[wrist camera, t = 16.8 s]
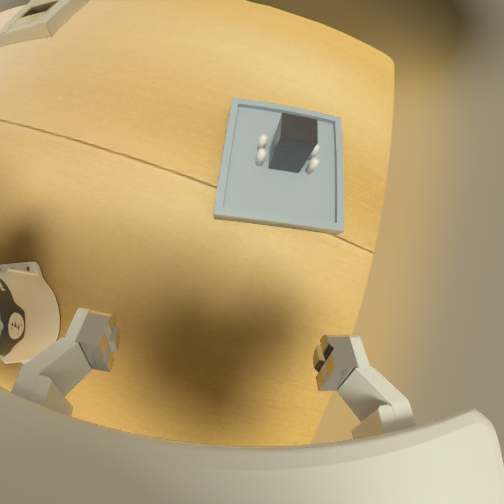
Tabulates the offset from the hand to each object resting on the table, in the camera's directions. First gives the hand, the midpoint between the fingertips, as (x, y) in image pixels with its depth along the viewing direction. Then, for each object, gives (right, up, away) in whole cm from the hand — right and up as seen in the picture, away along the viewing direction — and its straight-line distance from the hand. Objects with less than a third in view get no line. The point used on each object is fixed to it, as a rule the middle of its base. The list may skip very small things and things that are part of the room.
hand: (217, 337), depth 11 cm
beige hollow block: (-69, +81, +39) cm, 113 cm away
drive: (+7, +18, +35) cm, 40 cm away
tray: (+6, +18, +36) cm, 41 cm away
